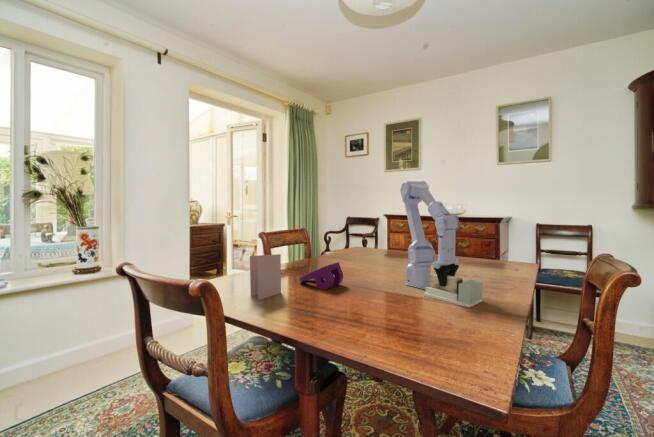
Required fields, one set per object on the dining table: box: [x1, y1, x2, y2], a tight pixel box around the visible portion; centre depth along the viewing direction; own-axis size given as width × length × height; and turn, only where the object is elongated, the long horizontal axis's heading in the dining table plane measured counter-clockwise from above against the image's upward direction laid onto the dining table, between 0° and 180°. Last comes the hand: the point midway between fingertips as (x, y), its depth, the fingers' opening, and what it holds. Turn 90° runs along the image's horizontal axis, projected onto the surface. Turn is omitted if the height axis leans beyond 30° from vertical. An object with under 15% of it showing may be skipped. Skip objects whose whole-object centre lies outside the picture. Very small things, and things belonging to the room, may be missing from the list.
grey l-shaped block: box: [423, 279, 483, 308], centre depth 114 cm, size 17×10×7 cm, turn 41°
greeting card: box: [249, 253, 282, 301], centre depth 117 cm, size 11×7×15 cm, turn 108°
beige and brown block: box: [430, 272, 464, 294], centre depth 116 cm, size 10×4×6 cm, turn 41°
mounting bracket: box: [298, 262, 344, 290], centre depth 134 cm, size 10×8×18 cm
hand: (446, 285), depth 116 cm, fingers closed on beige and brown block, 4 cm apart
